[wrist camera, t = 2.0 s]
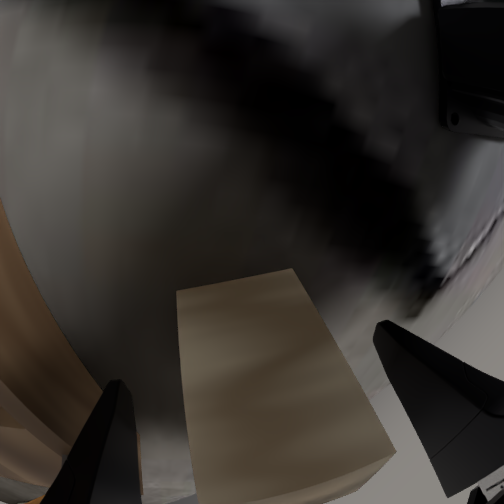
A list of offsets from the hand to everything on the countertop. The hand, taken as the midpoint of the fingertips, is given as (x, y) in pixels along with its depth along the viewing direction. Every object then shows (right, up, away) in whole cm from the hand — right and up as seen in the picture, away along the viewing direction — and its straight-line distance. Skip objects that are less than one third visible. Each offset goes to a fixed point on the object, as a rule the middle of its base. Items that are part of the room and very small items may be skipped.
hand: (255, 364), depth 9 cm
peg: (-1, +1, +2) cm, 2 cm away
